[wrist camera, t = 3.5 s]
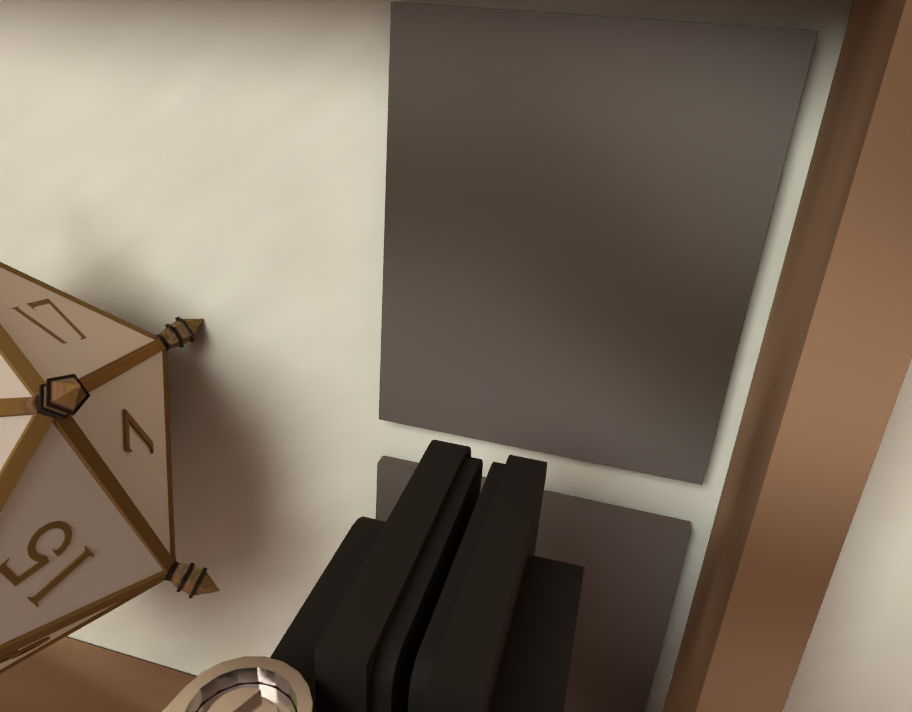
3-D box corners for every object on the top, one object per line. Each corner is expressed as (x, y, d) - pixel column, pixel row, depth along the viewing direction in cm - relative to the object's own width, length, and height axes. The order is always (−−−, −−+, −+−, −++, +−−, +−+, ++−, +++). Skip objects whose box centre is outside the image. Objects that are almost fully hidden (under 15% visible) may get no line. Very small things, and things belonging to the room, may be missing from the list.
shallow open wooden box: (680, 860, 16) (681, 986, 14) (-231, 573, 23) (-329, 629, 20) (1002, -142, 9) (1119, -209, 6) (-538, -170, 15) (-755, -210, 12)
